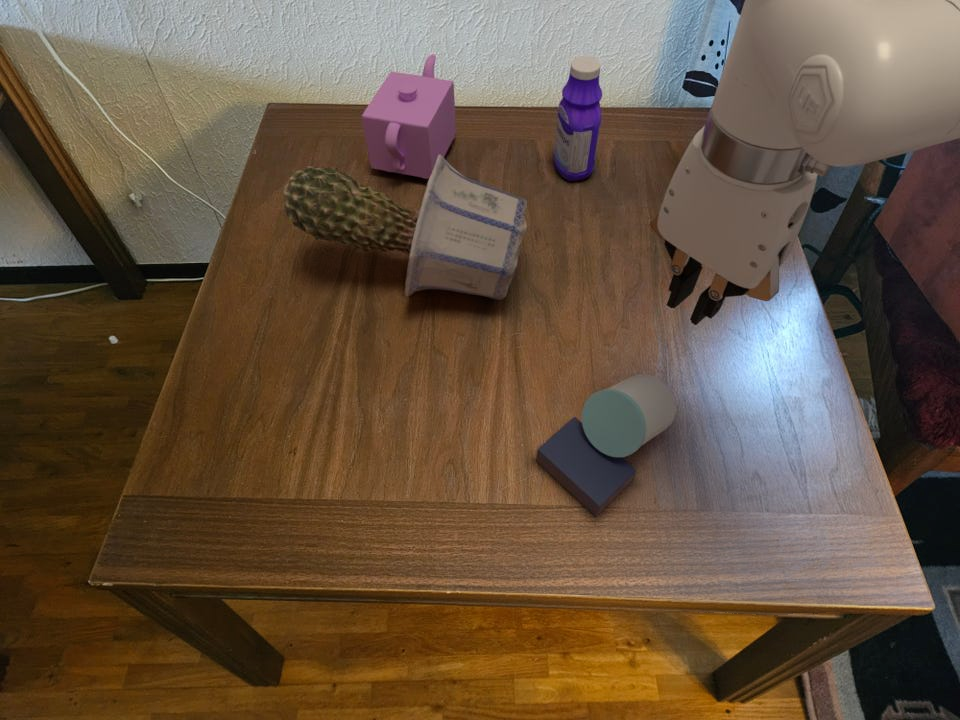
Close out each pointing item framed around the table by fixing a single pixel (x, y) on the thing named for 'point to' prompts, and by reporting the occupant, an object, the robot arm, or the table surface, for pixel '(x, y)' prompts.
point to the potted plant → (419, 226)
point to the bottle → (579, 120)
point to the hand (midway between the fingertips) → (690, 306)
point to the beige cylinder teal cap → (628, 414)
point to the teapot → (410, 122)
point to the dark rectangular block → (584, 467)
